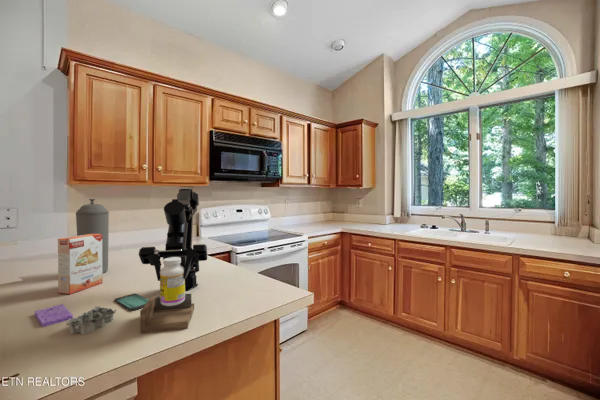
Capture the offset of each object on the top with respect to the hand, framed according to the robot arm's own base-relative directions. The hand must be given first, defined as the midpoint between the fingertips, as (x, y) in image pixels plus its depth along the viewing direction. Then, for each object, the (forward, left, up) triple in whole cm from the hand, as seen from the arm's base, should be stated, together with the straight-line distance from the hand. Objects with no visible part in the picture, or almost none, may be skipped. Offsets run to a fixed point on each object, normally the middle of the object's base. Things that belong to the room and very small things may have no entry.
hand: (171, 279), depth 81 cm
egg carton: (-22, -6, -14) cm, 27 cm away
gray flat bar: (-4, +6, -11) cm, 13 cm away
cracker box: (-55, +19, -13) cm, 60 cm away
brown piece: (-3, +2, -13) cm, 14 cm away
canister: (-70, +37, -13) cm, 81 cm away
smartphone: (-24, +11, -14) cm, 29 cm away
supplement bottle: (-1, +1, -7) cm, 8 cm away
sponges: (-39, -4, -14) cm, 42 cm away
